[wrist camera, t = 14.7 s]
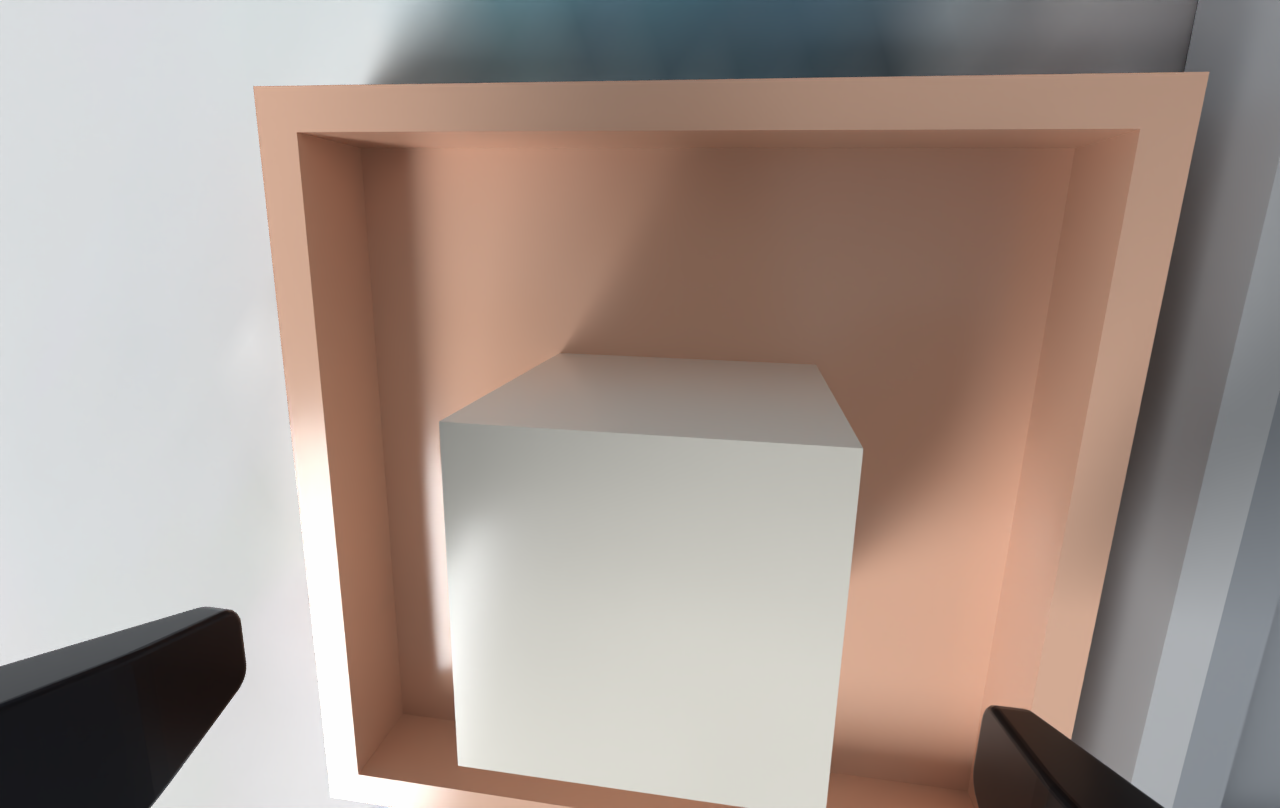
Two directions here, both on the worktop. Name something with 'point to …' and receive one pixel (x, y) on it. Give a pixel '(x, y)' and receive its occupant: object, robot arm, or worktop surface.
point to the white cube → (652, 575)
